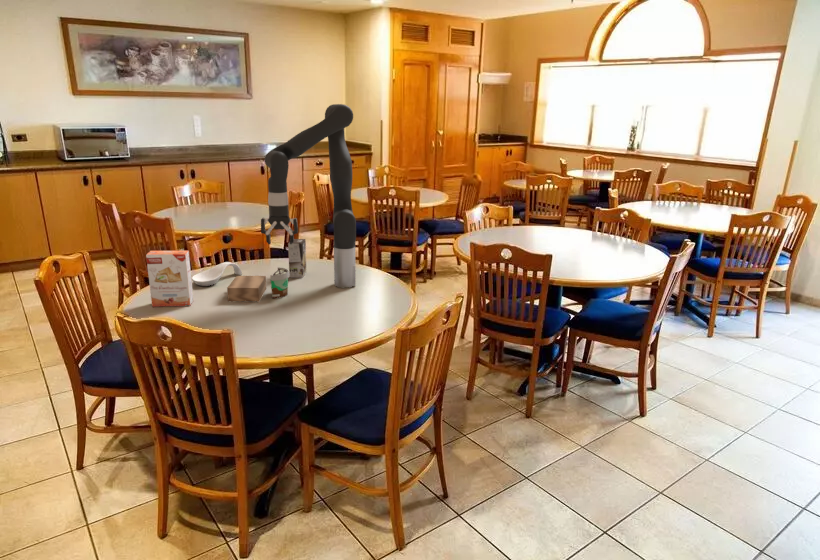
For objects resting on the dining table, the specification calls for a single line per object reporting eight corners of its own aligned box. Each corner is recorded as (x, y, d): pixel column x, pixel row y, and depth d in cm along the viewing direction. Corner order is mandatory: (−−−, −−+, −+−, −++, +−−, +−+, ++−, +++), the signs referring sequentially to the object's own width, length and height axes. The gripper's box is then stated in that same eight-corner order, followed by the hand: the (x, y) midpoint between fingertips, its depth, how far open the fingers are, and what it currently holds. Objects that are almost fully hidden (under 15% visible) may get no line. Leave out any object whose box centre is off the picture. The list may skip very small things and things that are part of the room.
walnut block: (266, 289, 228) (265, 275, 226) (259, 302, 213) (258, 287, 211) (237, 289, 227) (236, 275, 225) (228, 302, 212) (227, 287, 210)
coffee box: (303, 278, 243) (301, 243, 238) (289, 277, 243) (287, 242, 239) (307, 272, 252) (306, 238, 247) (293, 271, 252) (292, 238, 247)
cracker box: (151, 307, 203) (144, 254, 197) (156, 302, 209) (149, 250, 203) (190, 306, 205) (185, 253, 199) (194, 301, 211) (188, 249, 205)
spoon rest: (205, 290, 224) (203, 274, 222) (186, 285, 230) (184, 269, 228) (247, 276, 244) (246, 261, 242) (229, 272, 249) (228, 257, 247)
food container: (286, 300, 215) (285, 276, 212) (271, 299, 215) (270, 275, 212) (293, 290, 227) (292, 267, 224) (279, 289, 227) (277, 267, 224)
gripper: (298, 202, 214) (299, 241, 219) (261, 201, 213) (263, 241, 217) (295, 205, 207) (297, 246, 211) (258, 204, 205) (260, 246, 210)
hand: (280, 243), depth 214 cm, fingers open, 8 cm apart
